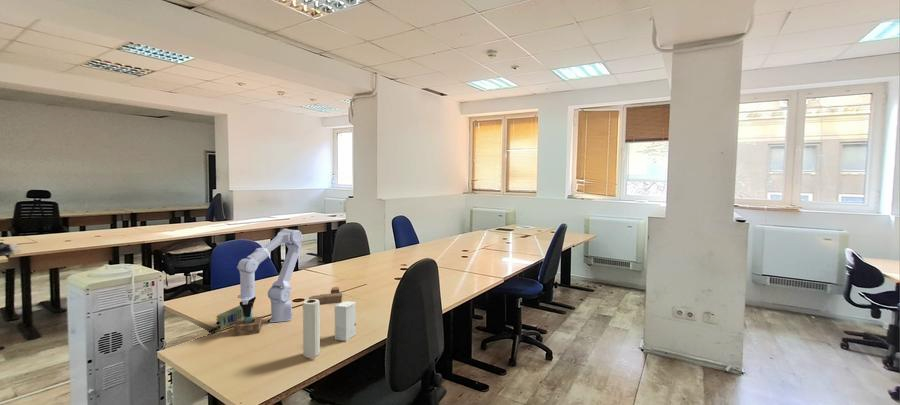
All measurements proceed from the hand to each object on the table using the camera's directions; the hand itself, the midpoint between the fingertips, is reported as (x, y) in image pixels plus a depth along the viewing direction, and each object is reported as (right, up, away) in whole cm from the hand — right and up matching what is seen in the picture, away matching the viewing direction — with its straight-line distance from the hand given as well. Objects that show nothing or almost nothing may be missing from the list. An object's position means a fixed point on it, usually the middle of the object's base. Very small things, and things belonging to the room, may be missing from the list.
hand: (248, 315), depth 175 cm
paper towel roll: (+37, -9, -23) cm, 44 cm away
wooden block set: (+20, -5, +46) cm, 50 cm away
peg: (0, -3, 0) cm, 3 cm away
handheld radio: (-12, -7, +8) cm, 16 cm away
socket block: (0, -7, 0) cm, 7 cm away
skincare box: (+45, -8, -5) cm, 46 cm away
